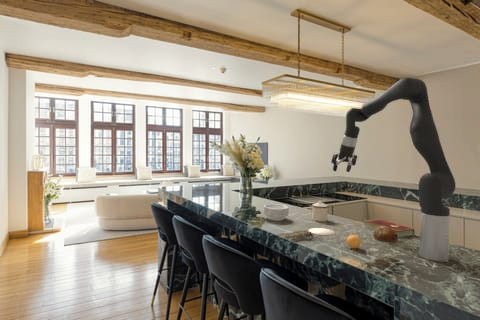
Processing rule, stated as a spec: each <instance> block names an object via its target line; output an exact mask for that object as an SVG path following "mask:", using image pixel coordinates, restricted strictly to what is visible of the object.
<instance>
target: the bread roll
mask: <svg viewBox="0 0 480 320" xmlns="http://www.w3.org/2000/svg"><path fill="white" fill-rule="evenodd" d="M372 235H373V238H374V239H375V240H378V241H381V242H389V243H390V242H391V243H392V242H393V243H394V242H396V241H397V240H398V239H399V237H398V238H397V236H398V235H397V232H395V231H394V230H393V229H391V228H390V227H387V226H380V227H378V228H376V229H375V230H373V233H372Z"/></svg>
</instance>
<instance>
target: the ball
mask: <svg viewBox="0 0 480 320" xmlns="http://www.w3.org/2000/svg"><path fill="white" fill-rule="evenodd" d="M346 243H347V246H348V247H349V248H350V249H355V250H356V249H358V248H360V246H361V243H362V241H361V239H360V237H359V236H357V235H356V234H355V235H354V234H353V235H349V236H348V237H347V239H346Z"/></svg>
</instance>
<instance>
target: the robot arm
mask: <svg viewBox="0 0 480 320" xmlns="http://www.w3.org/2000/svg"><path fill="white" fill-rule="evenodd" d="M428 94H429V93H428V88H427V85H426V83H425V82H424V81H423V80H422V79H419V78H414V77H404V78H400V79H399V80H398V81H397V82H395V83H393V84H392V85H391V86H390V87H388V89H386V90H385V91H384V92H382V93H381V94H380V95H378V96H376V97H374V98H372V99H370V100H369V101H367V102H365V103H363V104H362V105H361V107H360V108H356V107H351V108H349V109H348V110H347V112H346V115H345V132H344V135H343V137H342V140H341V143H340V148H339V153H337V152H334V153H333V156H332V158H331V161H330V163H331V164H333V167H332V171H334V172H337V171H338V170H337V169H338V165H339V164H341V163H344V162H345V163H347V166H346V170H345V171H346V172H347V173H350V171H351V169H352V167H353V166H356V163H357V159H358V155H356V154H354V153H355V150H356V146H357V143H358V137H359V134H360V130H361V129H360V127H359V126H357V125H356V123H357V122H358V123H361V122H362V123H363V122H365V121H367V120H368V119H370V117H371V116H373V115H376V114H378V113H380V112H382V111H383V110H384V109H385V108H386V107H387V106H388V105H389V104H390V103H392V102H396V101H398V100H403V101H409V104H410V106H411V110H412V118H411V121H410V123H409V124H410V125H409V133H410V138H411V141H412V143H413V144H412V145H413V146H414V148H415V150H416V151H417V152H418V153H419V154H420V156H421V157H422V158H423V159H424V161H425V162H426V164H427V166H428V169H429V171H430V172H427V173H425V174H423V175H421V177H420V179H419V181H418V204H419V207H420V232H419V234H420V236H419V256H420V257H421V258H424V259H426V260H430V261H433V262H445V263H449V255H450V254H449V251H450V217H451V210H450V208H449V207H448V206H447V205H445V204H444V203H443V197H448V196H451V195H453V194H454V193H455V191H456V185H457V184H456V180H455V178H454V174H453V173H452V170H451V169H450V166H449V164H448V161H447V159H446V157H445V153H444V150H443V146H442V144H441V139H440V135H439V133H438V129H437V126H436V124H435V120H434V117H433V113H432V109H431V105H430V101H429V95H428Z"/></svg>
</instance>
